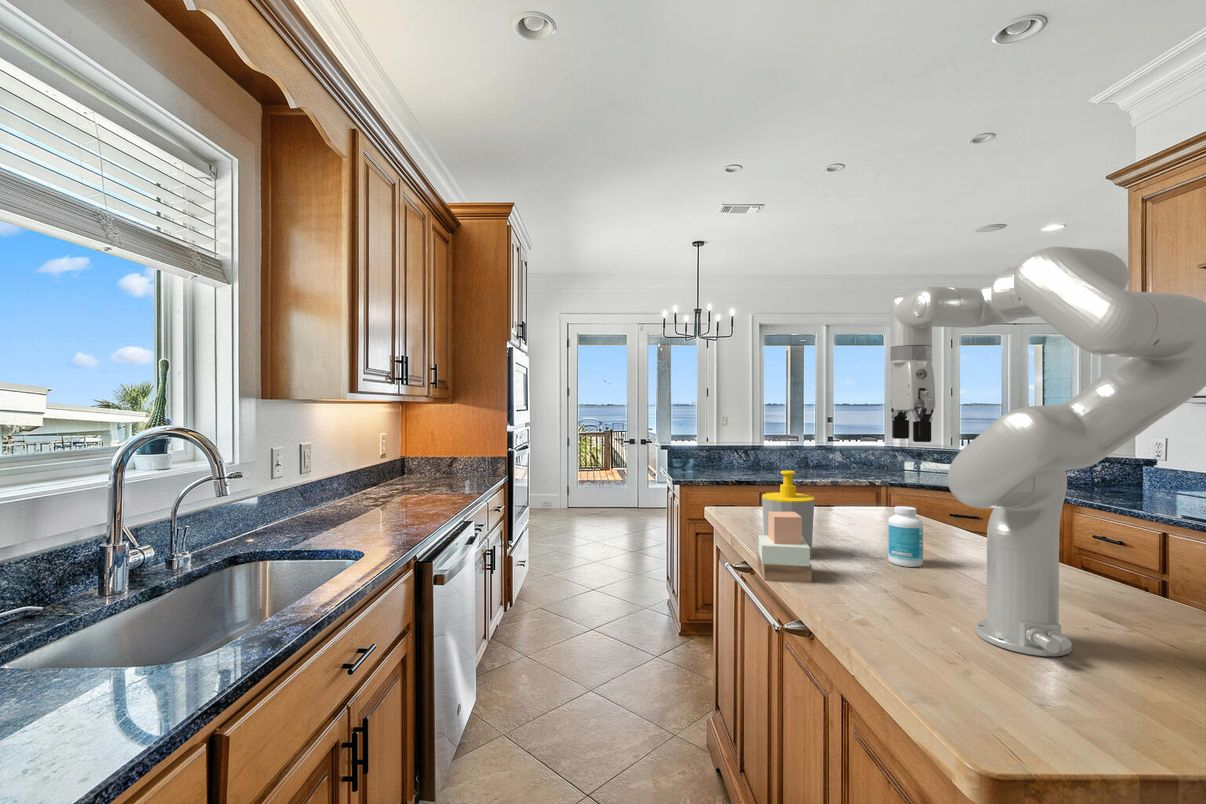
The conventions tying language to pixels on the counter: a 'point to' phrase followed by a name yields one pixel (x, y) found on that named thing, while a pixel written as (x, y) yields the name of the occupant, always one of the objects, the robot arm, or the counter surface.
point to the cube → (785, 527)
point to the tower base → (784, 572)
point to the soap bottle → (790, 506)
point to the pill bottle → (905, 537)
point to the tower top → (783, 552)
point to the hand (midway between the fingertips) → (910, 440)
